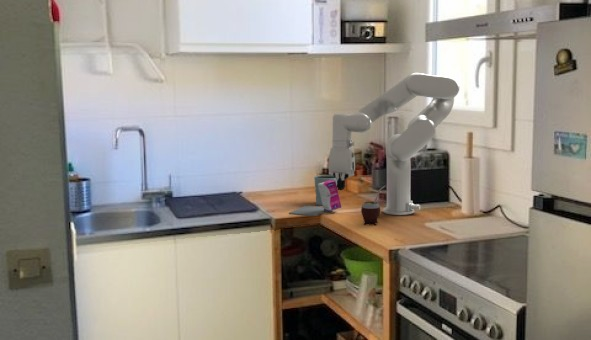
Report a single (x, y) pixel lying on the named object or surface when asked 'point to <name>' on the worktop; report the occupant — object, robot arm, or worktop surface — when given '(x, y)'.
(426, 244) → the worktop surface
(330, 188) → the supplement box
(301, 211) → the mat
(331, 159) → the robot arm
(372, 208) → the mate gourd
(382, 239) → the worktop surface
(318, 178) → the grey plant pot
